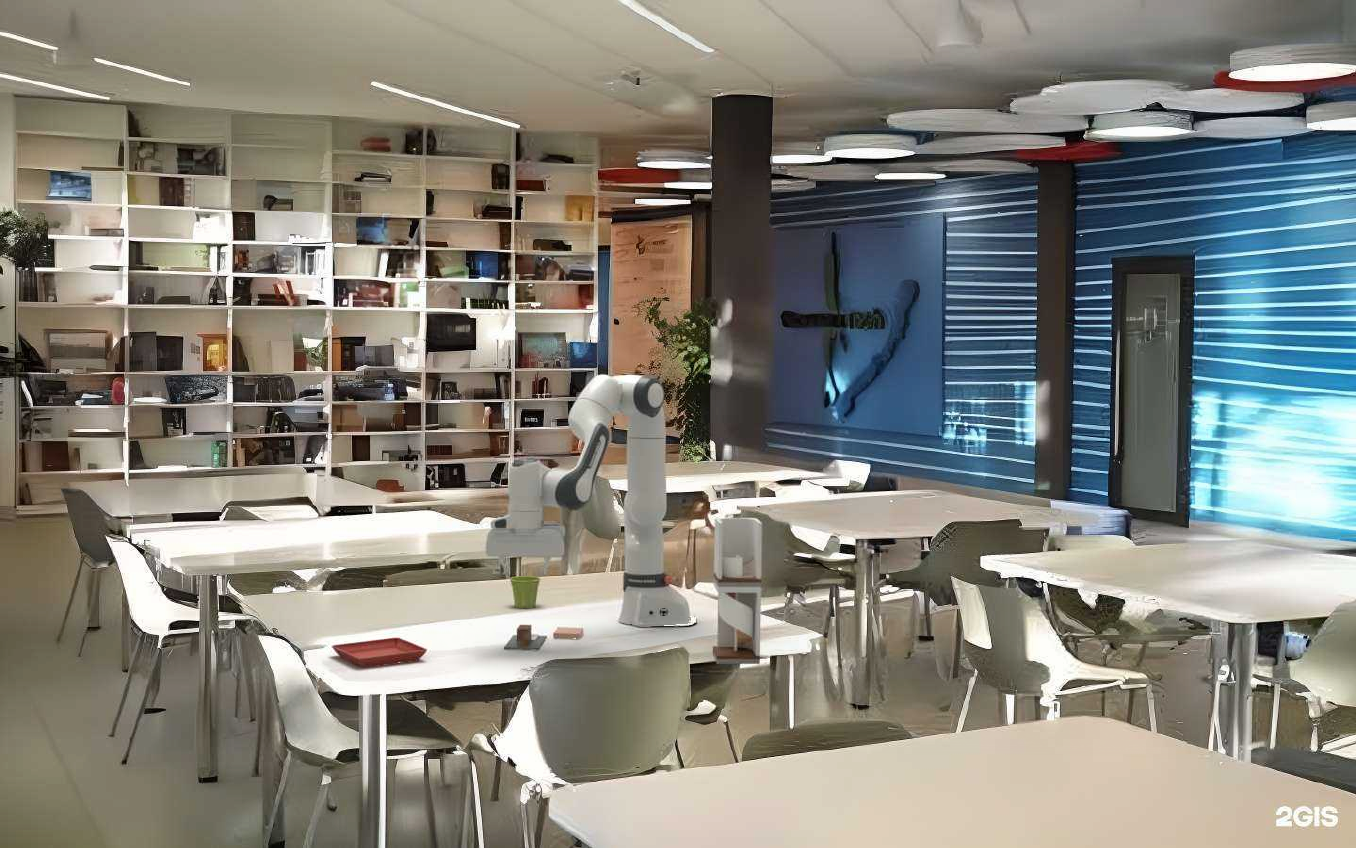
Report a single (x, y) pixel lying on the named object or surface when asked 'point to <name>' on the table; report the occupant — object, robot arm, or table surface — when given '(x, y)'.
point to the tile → (568, 632)
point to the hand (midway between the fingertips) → (525, 574)
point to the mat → (533, 645)
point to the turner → (525, 635)
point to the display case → (738, 589)
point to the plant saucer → (379, 652)
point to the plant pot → (525, 590)
